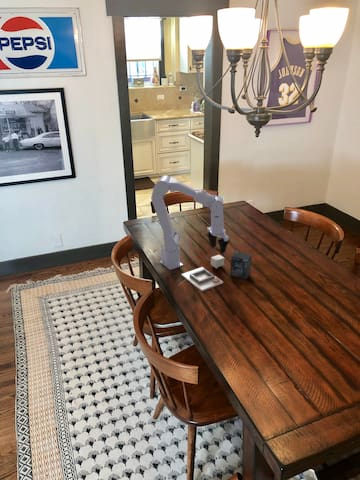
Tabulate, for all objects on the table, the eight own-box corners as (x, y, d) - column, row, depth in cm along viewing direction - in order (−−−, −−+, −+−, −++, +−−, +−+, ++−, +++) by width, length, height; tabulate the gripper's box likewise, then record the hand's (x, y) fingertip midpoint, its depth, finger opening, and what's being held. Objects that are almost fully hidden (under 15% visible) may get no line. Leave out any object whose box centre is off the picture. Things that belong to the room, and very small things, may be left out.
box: (229, 275, 172) (231, 256, 167) (234, 270, 176) (235, 250, 172) (245, 280, 169) (247, 260, 164) (250, 274, 173) (251, 254, 168)
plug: (210, 266, 180) (211, 257, 178) (218, 263, 182) (219, 254, 180) (215, 270, 177) (216, 260, 175) (223, 267, 179) (224, 257, 177)
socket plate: (181, 275, 172) (181, 271, 171) (202, 268, 178) (202, 264, 177) (201, 291, 160) (202, 286, 159) (223, 283, 166) (223, 278, 165)
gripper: (234, 225, 164) (234, 252, 170) (215, 216, 176) (216, 241, 182) (221, 229, 161) (221, 257, 167) (203, 220, 173) (204, 245, 179)
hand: (218, 249), depth 174 cm, fingers open, 7 cm apart
